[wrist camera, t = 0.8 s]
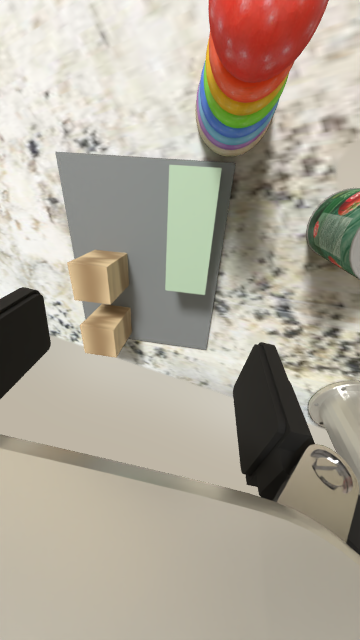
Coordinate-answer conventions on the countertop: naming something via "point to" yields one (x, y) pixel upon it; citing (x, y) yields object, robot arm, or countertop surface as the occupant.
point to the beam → (190, 226)
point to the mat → (141, 238)
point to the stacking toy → (249, 67)
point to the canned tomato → (338, 230)
